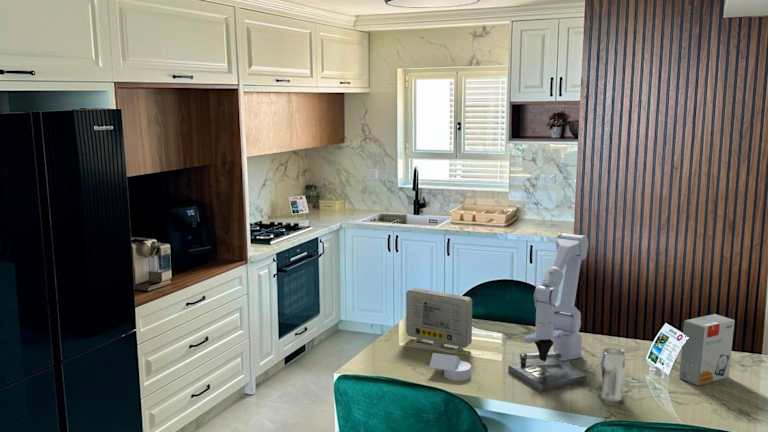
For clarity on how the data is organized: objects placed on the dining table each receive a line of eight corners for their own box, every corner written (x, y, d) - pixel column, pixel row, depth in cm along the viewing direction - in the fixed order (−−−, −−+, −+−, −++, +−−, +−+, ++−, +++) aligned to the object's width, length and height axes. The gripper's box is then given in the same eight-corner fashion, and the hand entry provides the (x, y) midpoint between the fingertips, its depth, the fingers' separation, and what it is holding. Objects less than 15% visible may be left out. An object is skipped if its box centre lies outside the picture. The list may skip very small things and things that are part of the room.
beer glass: (595, 393, 209) (598, 347, 206) (617, 392, 210) (620, 346, 207) (605, 403, 202) (607, 356, 200) (627, 402, 203) (630, 355, 200)
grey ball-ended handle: (520, 360, 224) (521, 355, 224) (518, 357, 227) (519, 352, 226) (561, 358, 225) (561, 353, 225) (558, 355, 228) (558, 350, 227)
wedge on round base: (429, 376, 222) (467, 382, 218) (429, 357, 221) (467, 362, 217) (436, 366, 231) (473, 371, 226) (436, 348, 230) (473, 352, 225)
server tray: (550, 362, 233) (551, 351, 232) (586, 382, 217) (587, 370, 216) (508, 372, 226) (508, 360, 225) (542, 392, 210) (542, 380, 209)
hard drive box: (698, 387, 213) (703, 327, 210) (678, 378, 220) (682, 320, 216) (730, 377, 220) (735, 319, 217) (709, 369, 227) (714, 312, 223)
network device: (474, 348, 247) (475, 296, 244) (463, 355, 240) (464, 302, 236) (414, 335, 261) (414, 285, 257) (402, 342, 254) (402, 291, 250)
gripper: (554, 315, 228) (552, 353, 231) (519, 320, 222) (517, 359, 224) (568, 321, 222) (566, 360, 224) (532, 326, 216) (531, 367, 218)
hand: (542, 360), depth 224 cm, fingers closed, pressing on grey ball-ended handle
